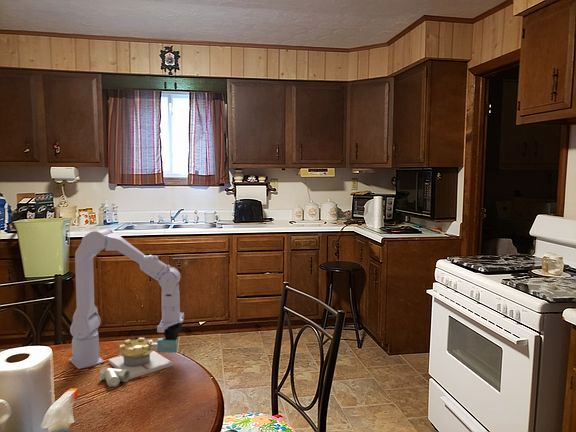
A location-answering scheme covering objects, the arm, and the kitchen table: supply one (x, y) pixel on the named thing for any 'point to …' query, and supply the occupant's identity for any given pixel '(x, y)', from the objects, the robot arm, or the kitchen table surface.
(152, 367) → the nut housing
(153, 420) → the kitchen table surface
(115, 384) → the pipe fitting
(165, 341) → the gold gear
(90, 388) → the kitchen table surface
